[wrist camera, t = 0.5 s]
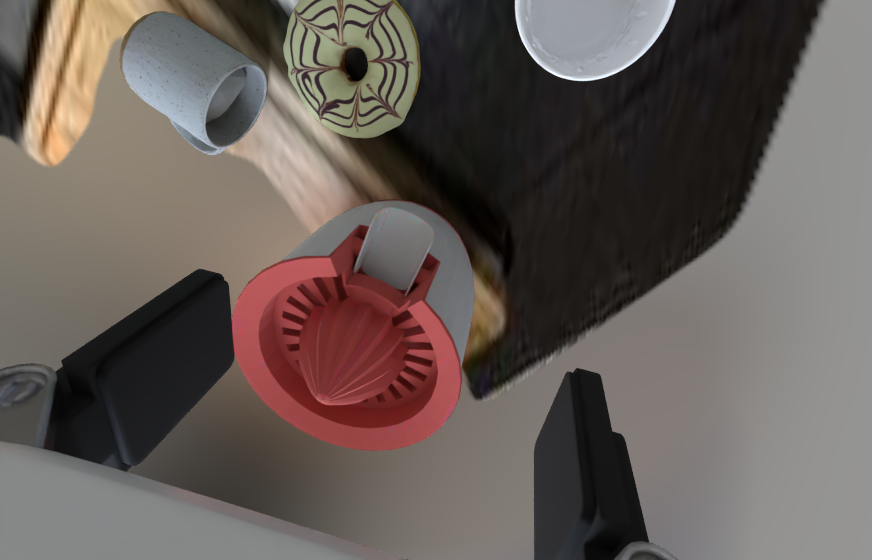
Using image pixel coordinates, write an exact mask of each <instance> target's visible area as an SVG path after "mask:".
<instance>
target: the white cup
mask: <svg viewBox="0 0 872 560" xmlns="http://www.w3.org/2000/svg"><path fill="white" fill-rule="evenodd" d="M675 1H676V0H515V14H516V21H517V26H518V30H519V34H520V36H521V39H522V41H523V43H524V45H525V47H526V49H527V51H528V52H529V54H530V55H531V56H532V58H533V59H534V60H535V61H536V62H537V63H538V64H539V65H540V66H541V67H543V68H544V69H545V70H547V71H548V72H550V73H552V74H554V75H556V76H559V77H561V78H565V79H569V80H576V81H589V80H596V79H601V78H604V77H607V76H610V75H613V74H615V73H617V72H619V71H621V70H623V69H624V68H626V67H628V66H629V65H631V64H632V63H633V62H635V61H636V60H637V59H638V58H640V57H641V56H642V55H643V54H644V53H645V52H646V51H647V50H648V49H649V48H650V47H651V45H652V44H653V43H654V42H655V40H656V39H657V38H658V36H659V35H660V33H661V32H662V30H663V29H664V27H665V25H666V23H667V21H668V19H669V17H670V15H671V12H672V10H673V7H674V4H675Z"/></svg>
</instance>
